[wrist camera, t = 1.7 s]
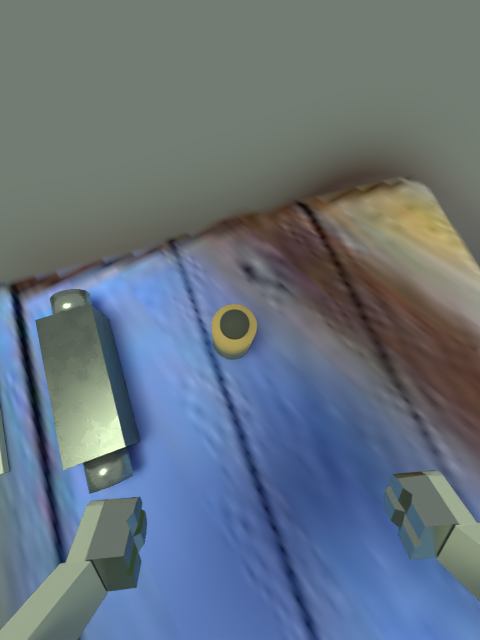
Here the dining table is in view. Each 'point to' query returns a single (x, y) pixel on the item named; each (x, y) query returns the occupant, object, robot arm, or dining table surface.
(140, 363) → the dining table surface
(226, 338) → the yellow cylinder
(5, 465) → the far side pad
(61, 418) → the motor housing
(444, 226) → the dining table surface
